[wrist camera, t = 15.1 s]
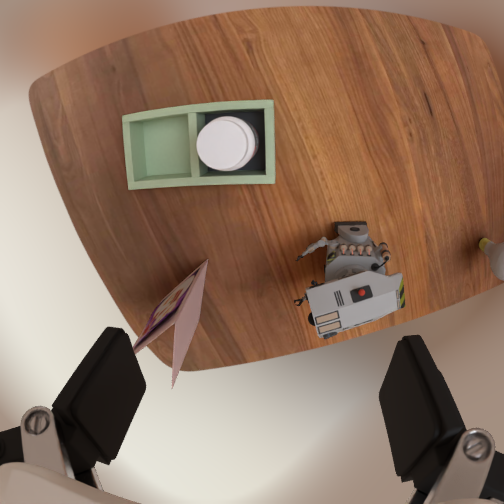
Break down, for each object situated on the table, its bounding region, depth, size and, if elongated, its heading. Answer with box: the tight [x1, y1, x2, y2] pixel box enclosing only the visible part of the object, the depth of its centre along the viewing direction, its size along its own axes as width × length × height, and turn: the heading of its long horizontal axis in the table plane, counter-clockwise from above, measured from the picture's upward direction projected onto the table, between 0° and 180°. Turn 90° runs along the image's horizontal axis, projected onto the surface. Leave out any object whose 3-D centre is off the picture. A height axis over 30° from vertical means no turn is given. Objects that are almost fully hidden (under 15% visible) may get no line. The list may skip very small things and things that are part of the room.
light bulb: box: [479, 238, 504, 280], centre depth 32 cm, size 6×5×10 cm
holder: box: [122, 100, 276, 190], centre depth 33 cm, size 10×18×5 cm, turn 92°
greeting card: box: [133, 259, 208, 388], centre depth 38 cm, size 11×7×15 cm, turn 133°
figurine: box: [294, 222, 405, 339], centre depth 33 cm, size 9×12×15 cm
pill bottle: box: [196, 116, 259, 171], centre depth 30 cm, size 6×6×10 cm
